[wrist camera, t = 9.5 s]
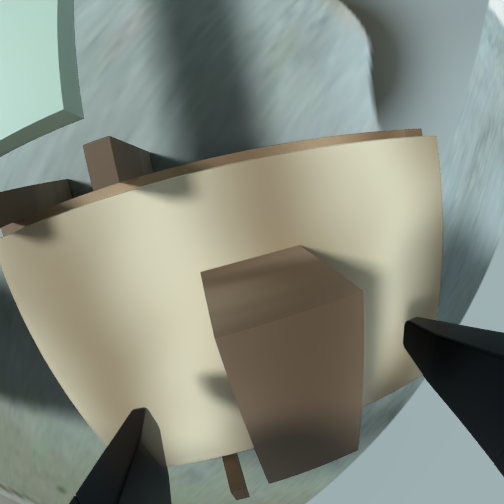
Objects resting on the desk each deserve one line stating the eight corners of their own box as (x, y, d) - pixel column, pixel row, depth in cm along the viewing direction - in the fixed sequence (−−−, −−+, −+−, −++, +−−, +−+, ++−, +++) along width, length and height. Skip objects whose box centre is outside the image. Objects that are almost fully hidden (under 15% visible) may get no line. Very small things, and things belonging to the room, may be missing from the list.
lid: (130, 444, 12) (128, 531, 7) (17, 229, 8) (-75, 281, 3) (408, 354, 14) (469, 409, 9) (406, 136, 11) (511, 138, 6)
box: (140, 407, 16) (137, 513, 9) (47, 186, 12) (-58, 215, 4) (373, 336, 19) (446, 405, 11) (354, 115, 14) (471, 98, 7)
